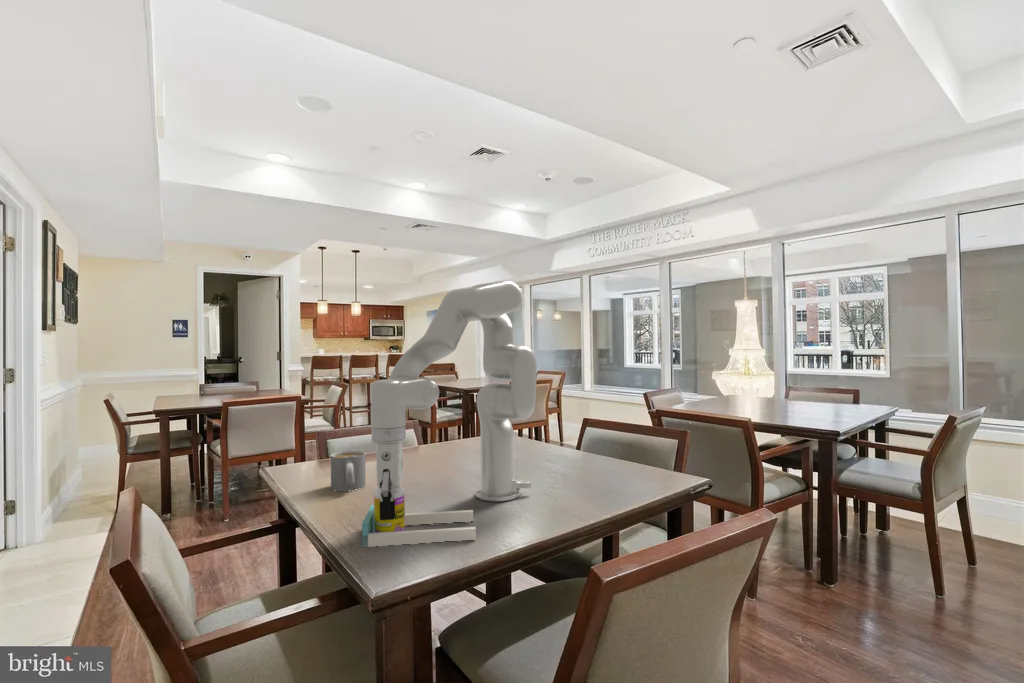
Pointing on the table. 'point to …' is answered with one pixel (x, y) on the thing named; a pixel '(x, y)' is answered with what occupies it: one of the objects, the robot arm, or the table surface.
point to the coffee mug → (347, 470)
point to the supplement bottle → (399, 520)
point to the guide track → (419, 535)
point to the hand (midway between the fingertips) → (389, 512)
